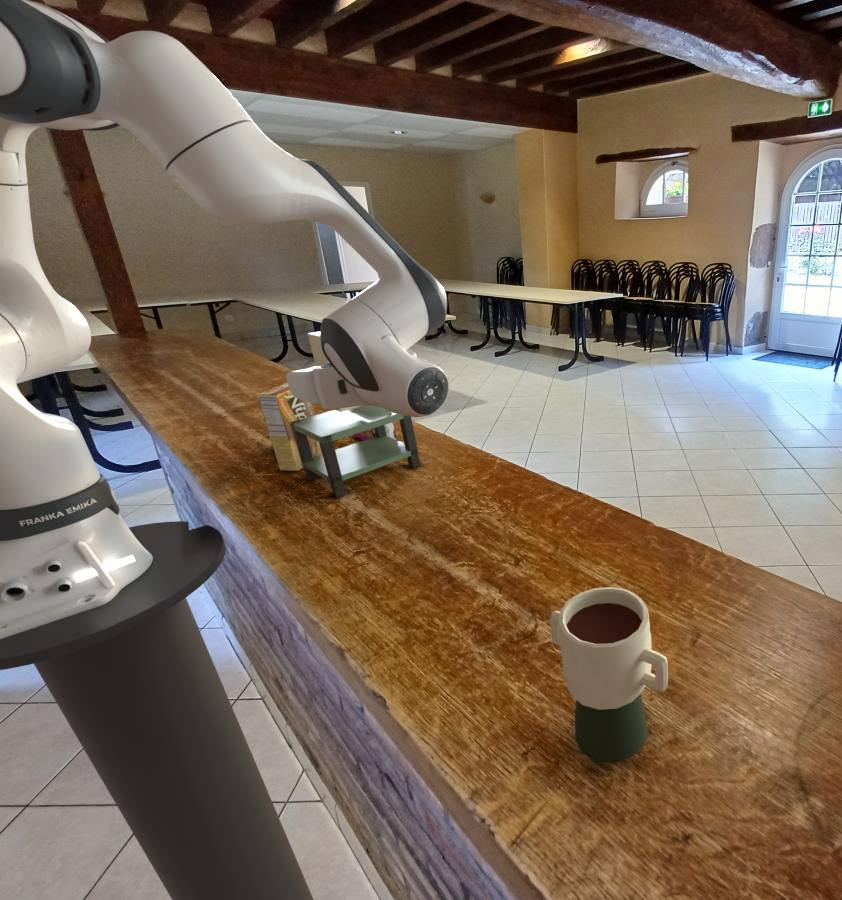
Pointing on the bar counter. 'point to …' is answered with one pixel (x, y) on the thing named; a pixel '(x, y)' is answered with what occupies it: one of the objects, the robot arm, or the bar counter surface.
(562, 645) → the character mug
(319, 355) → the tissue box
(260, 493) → the bar counter surface
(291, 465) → the candy box
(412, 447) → the rack
